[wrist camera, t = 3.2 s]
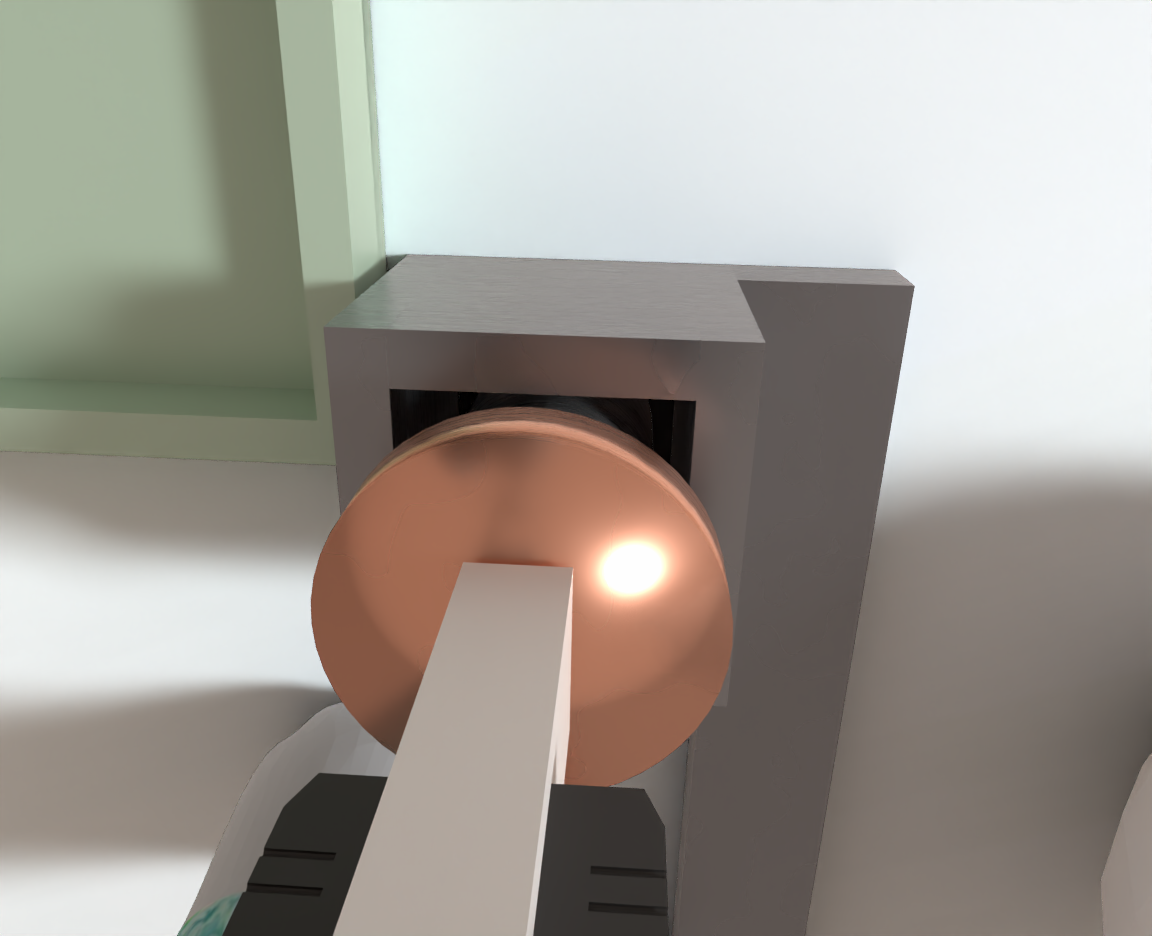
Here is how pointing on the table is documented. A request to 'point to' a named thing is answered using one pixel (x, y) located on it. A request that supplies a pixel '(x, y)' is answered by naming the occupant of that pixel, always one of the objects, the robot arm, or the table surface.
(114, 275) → the tray
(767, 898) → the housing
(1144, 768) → the vase
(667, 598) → the plunger
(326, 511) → the table surface
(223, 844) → the bottle
